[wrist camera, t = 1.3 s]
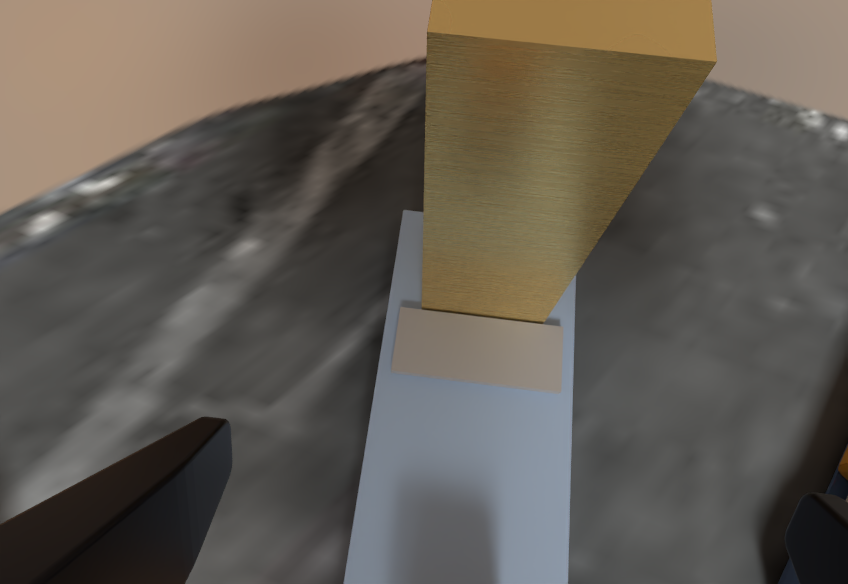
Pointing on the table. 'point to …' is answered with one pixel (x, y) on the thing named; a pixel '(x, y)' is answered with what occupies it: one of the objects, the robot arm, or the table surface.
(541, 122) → the tan tall block
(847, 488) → the toy gun
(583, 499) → the table surface
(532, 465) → the plane body
